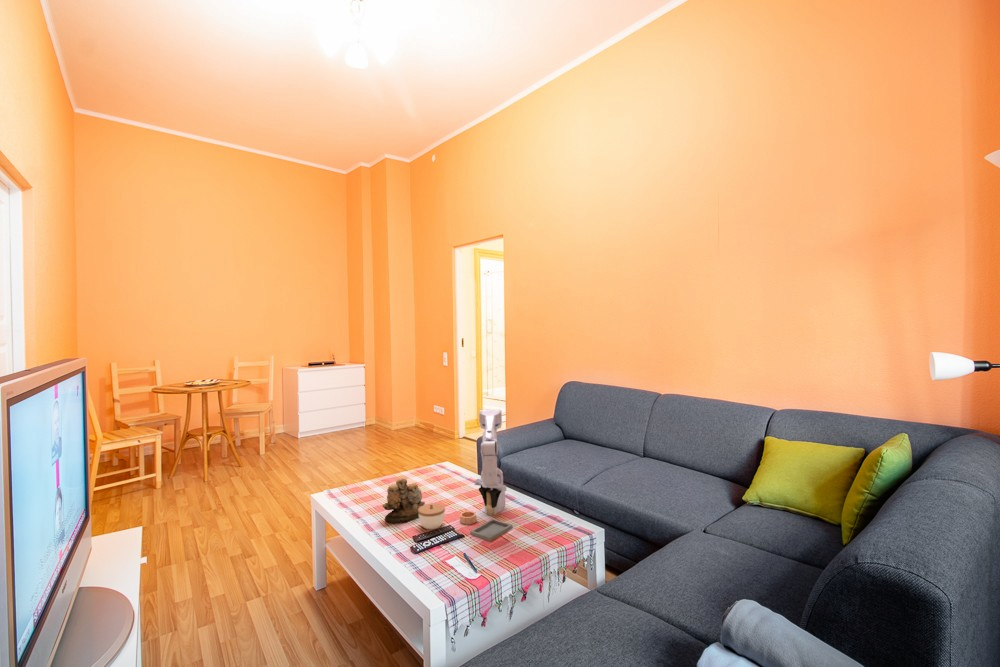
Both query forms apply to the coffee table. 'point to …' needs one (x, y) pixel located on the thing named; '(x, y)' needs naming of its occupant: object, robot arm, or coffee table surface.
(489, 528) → the tray
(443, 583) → the coffee table surface
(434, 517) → the lidded jar
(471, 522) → the cup
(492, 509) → the dowel
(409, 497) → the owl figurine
